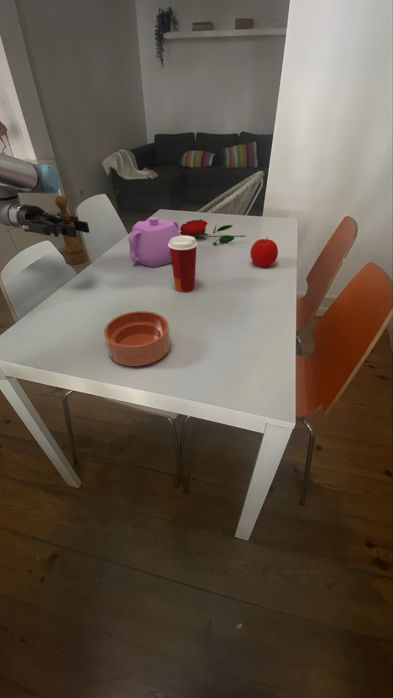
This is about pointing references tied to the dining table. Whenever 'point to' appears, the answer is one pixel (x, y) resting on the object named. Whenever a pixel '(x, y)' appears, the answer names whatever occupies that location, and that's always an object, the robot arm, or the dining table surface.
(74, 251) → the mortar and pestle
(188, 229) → the flower
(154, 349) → the bowl
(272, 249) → the fruit
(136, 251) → the teapot
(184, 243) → the coffee cup
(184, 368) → the dining table surface
